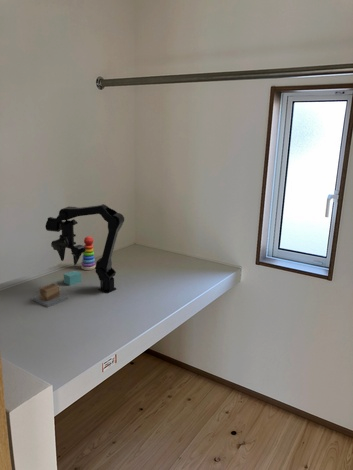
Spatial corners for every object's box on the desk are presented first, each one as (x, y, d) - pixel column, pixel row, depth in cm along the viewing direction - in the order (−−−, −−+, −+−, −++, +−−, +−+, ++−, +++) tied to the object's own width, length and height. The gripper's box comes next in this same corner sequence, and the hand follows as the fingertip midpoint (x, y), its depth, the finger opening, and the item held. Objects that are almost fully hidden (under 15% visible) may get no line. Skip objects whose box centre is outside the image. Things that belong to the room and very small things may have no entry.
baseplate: (67, 298, 176) (67, 296, 175) (47, 307, 167) (47, 304, 166) (52, 292, 181) (52, 290, 181) (32, 300, 173) (32, 297, 172)
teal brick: (81, 281, 196) (81, 273, 194) (70, 285, 190) (69, 276, 189) (75, 279, 199) (75, 270, 197) (64, 283, 193) (63, 274, 192)
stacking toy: (92, 271, 210) (91, 239, 205) (78, 269, 211) (78, 237, 206) (97, 266, 217) (97, 235, 212) (84, 265, 219) (84, 234, 214)
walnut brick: (59, 296, 175) (59, 286, 174) (47, 301, 170) (46, 291, 168) (52, 293, 178) (52, 283, 177) (40, 298, 172) (39, 288, 171)
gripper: (41, 232, 182) (43, 262, 186) (68, 239, 173) (69, 271, 177) (59, 228, 191) (60, 257, 195) (86, 234, 182) (86, 265, 186)
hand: (68, 262), depth 188 cm, fingers open, 9 cm apart
